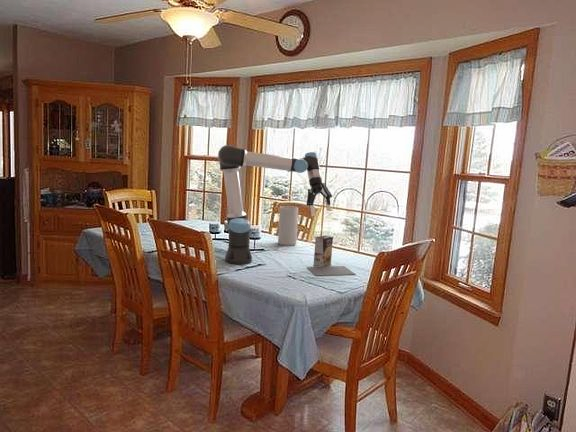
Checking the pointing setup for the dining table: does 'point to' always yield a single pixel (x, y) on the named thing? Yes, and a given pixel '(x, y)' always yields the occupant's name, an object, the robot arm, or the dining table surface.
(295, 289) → the dining table surface
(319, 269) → the mat
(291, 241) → the cylinder vase
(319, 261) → the coffee box
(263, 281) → the dining table surface
